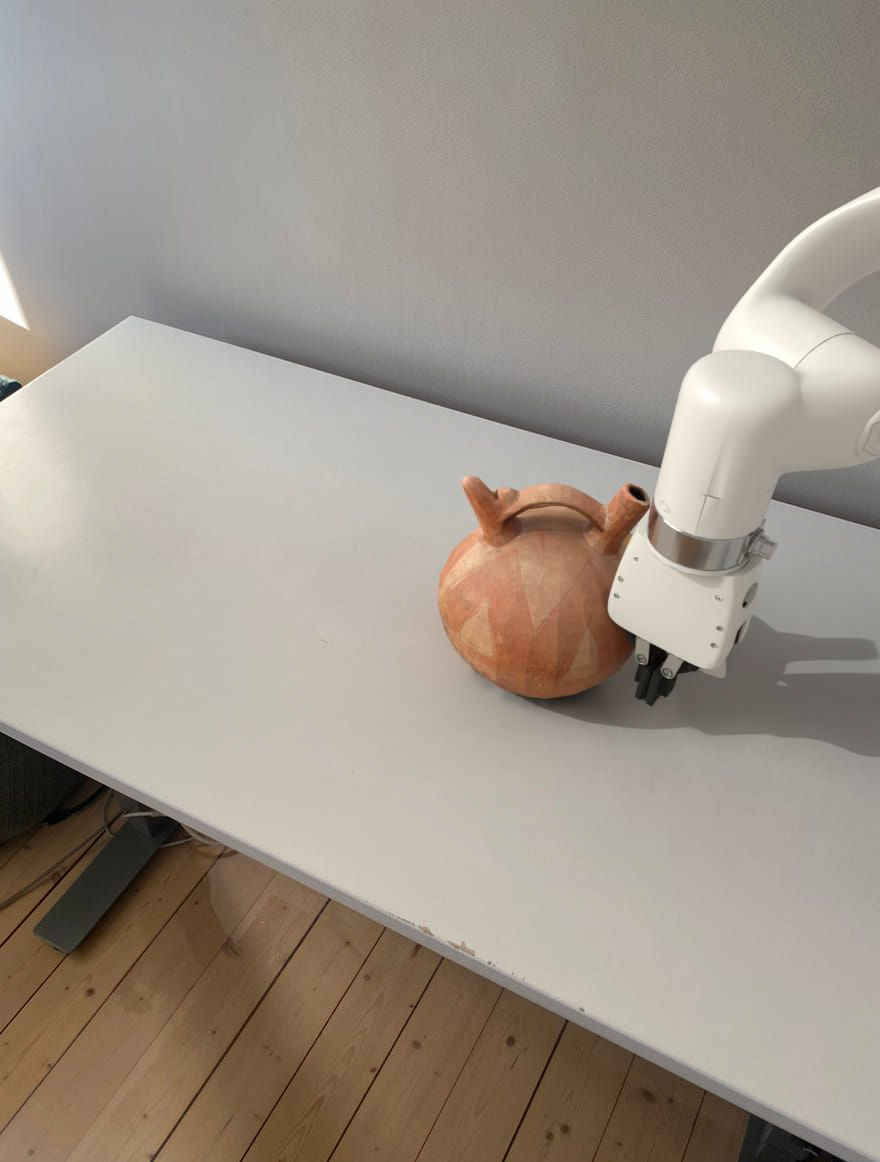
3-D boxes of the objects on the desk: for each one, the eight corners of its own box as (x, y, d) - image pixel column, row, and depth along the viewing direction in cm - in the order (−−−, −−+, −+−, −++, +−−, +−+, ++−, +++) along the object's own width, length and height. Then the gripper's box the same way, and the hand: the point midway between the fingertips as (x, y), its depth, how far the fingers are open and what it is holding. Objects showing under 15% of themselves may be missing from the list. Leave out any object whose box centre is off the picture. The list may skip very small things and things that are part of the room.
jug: (424, 717, 83) (423, 549, 68) (450, 579, 95) (454, 411, 80) (633, 742, 80) (680, 574, 66) (633, 597, 92) (673, 428, 78)
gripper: (825, 543, 64) (752, 709, 78) (635, 461, 71) (598, 627, 84) (779, 601, 60) (711, 766, 74) (583, 509, 67) (553, 675, 80)
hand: (651, 692), depth 79 cm, fingers closed
